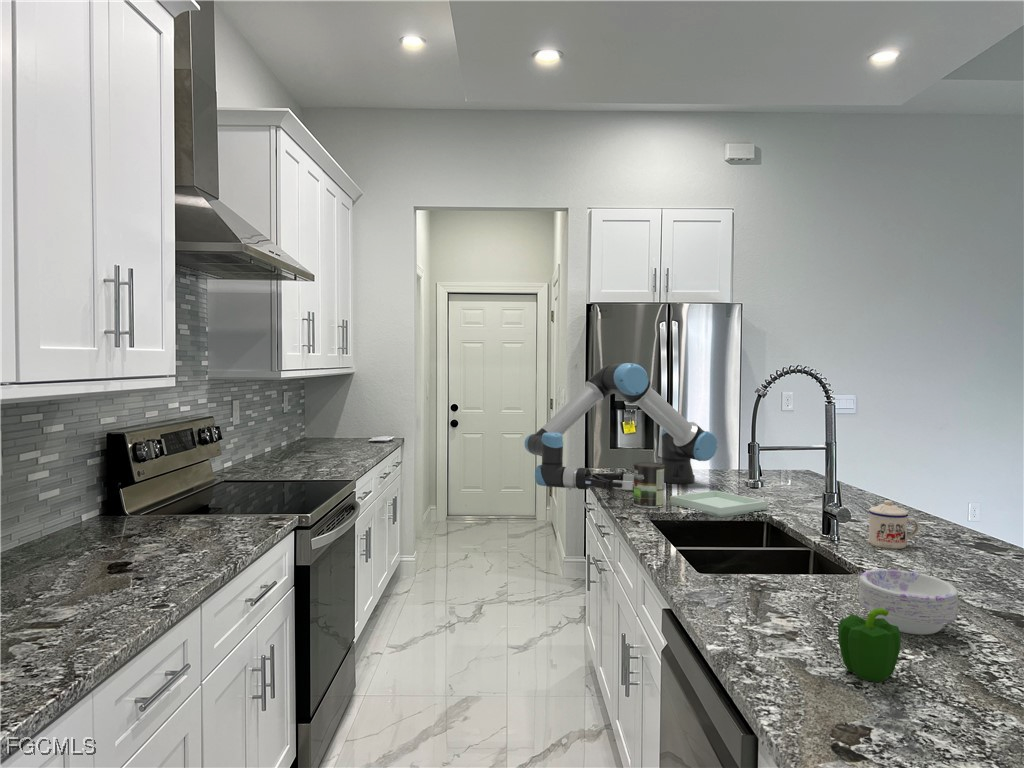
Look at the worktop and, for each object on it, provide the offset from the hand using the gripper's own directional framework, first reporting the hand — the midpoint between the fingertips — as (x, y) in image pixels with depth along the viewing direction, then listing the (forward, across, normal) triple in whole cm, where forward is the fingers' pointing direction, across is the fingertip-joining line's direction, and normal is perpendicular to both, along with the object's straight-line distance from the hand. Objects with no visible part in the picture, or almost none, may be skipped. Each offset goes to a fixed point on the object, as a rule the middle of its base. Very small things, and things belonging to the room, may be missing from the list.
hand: (637, 482), depth 222 cm
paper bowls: (+69, +84, -8) cm, 109 cm away
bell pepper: (+60, +109, -8) cm, 125 cm away
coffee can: (+4, 0, -8) cm, 9 cm away
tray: (+26, -7, -8) cm, 28 cm away
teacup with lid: (+74, +22, -8) cm, 77 cm away
